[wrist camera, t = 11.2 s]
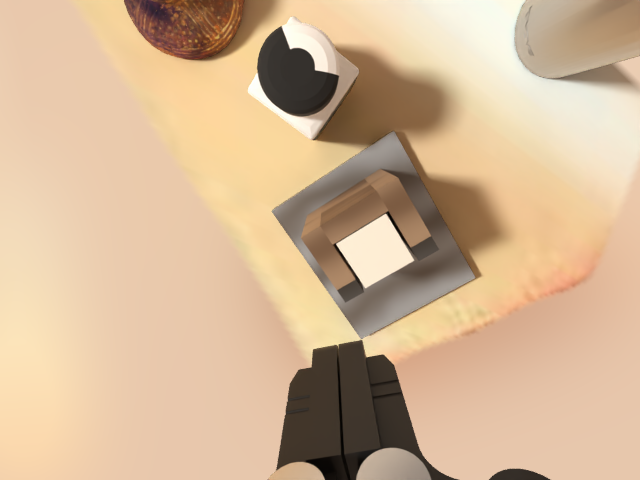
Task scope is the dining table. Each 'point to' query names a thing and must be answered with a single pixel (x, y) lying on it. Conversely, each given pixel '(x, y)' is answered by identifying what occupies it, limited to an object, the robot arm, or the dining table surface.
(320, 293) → the dining table surface
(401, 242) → the peg
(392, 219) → the u-shaped block stand
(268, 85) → the medicine bottle
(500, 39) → the dining table surface
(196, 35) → the bell
